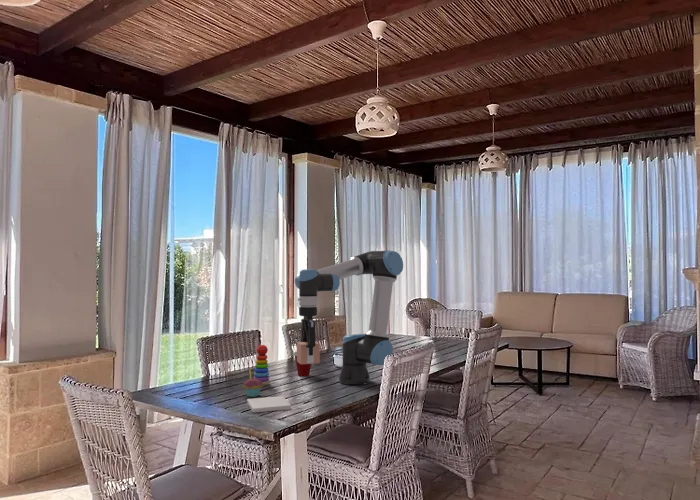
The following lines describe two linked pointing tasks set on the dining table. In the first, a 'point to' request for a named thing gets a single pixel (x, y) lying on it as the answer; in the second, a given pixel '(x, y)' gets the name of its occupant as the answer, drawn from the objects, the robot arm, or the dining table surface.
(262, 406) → the base plate
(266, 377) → the stacking toy
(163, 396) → the dining table surface
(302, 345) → the tan cube
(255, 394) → the cupcake
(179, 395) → the dining table surface
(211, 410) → the dining table surface
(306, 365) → the plastic cup
